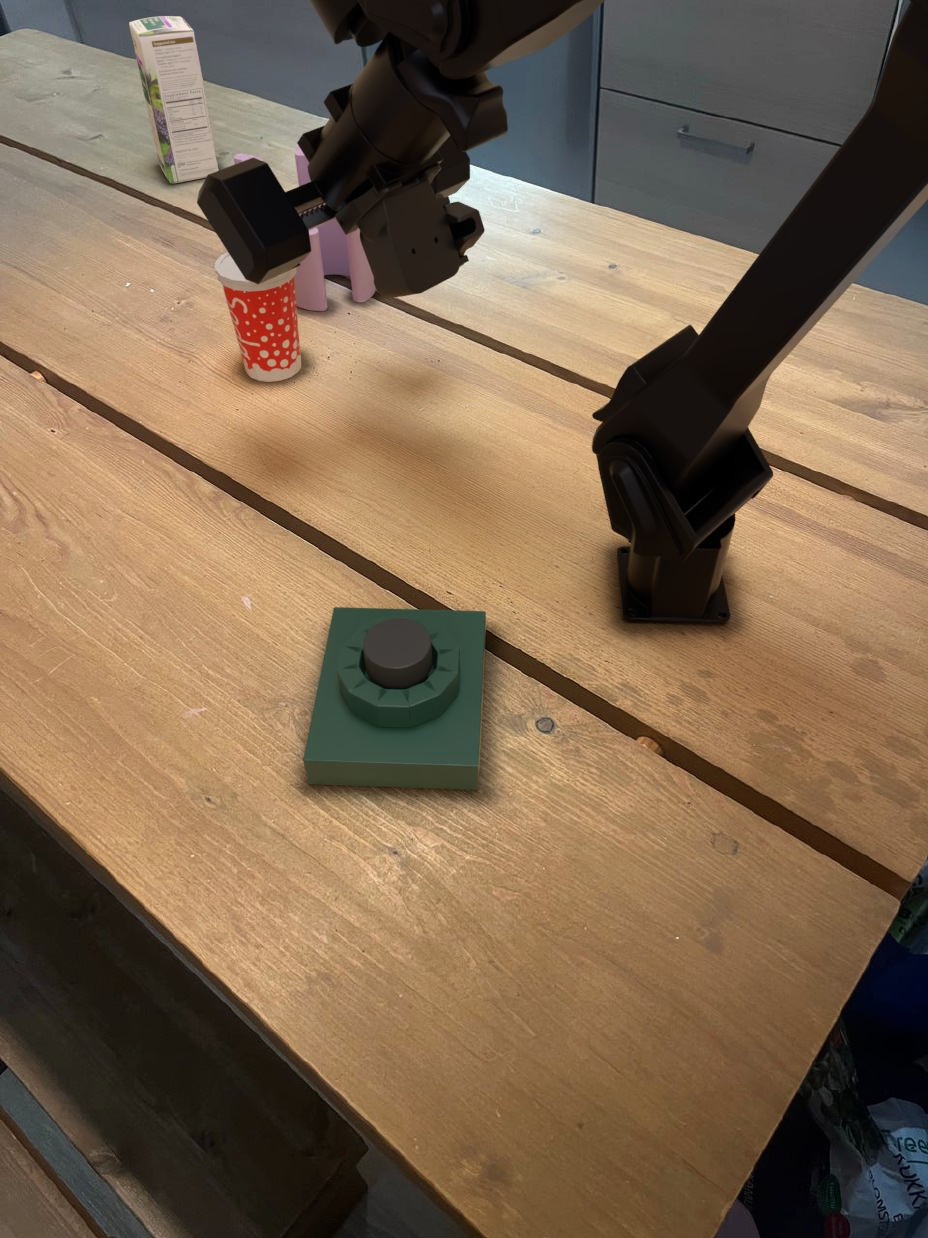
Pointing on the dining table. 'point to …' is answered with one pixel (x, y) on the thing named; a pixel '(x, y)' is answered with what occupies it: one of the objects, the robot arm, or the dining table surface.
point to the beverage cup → (263, 321)
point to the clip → (327, 255)
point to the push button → (397, 653)
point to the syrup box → (175, 97)
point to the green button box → (399, 707)
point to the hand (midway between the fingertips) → (296, 245)
